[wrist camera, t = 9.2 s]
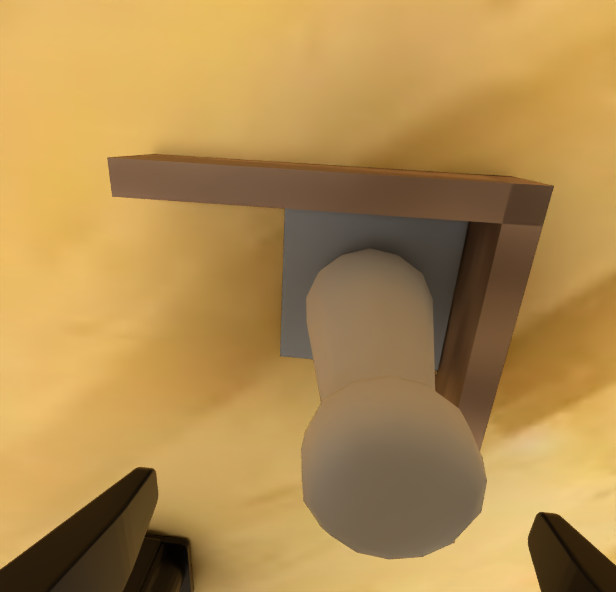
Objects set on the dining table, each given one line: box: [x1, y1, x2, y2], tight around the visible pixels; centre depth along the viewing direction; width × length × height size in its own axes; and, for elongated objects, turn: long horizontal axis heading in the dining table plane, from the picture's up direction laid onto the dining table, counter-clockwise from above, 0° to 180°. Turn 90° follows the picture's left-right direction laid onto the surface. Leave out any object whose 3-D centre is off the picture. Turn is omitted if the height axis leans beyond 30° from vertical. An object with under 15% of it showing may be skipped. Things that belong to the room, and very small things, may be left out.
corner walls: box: [107, 154, 554, 543], centre depth 20 cm, size 19×17×4 cm
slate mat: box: [280, 209, 469, 371], centre depth 21 cm, size 9×9×1 cm
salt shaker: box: [301, 248, 487, 559], centre depth 14 cm, size 6×6×13 cm
